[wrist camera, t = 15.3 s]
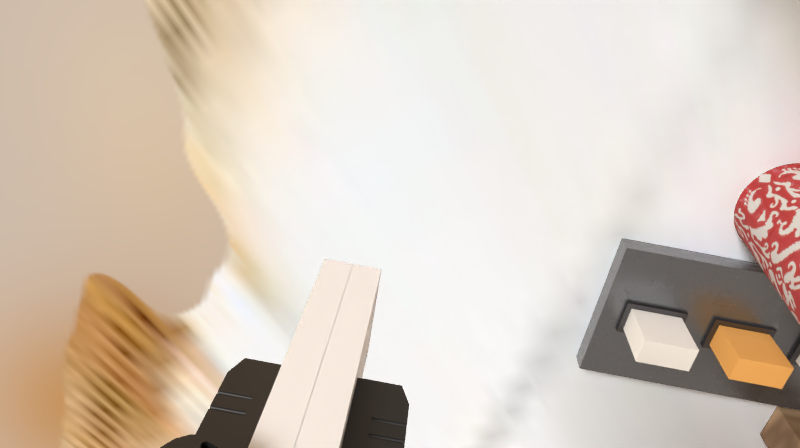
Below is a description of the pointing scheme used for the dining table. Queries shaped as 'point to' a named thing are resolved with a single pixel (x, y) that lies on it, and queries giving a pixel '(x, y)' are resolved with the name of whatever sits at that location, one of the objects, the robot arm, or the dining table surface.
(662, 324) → the paddle
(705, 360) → the switch plate
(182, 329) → the dining table surface
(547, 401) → the dining table surface
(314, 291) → the robot arm
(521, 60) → the dining table surface
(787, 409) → the post
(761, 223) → the mug
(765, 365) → the block
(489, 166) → the dining table surface
